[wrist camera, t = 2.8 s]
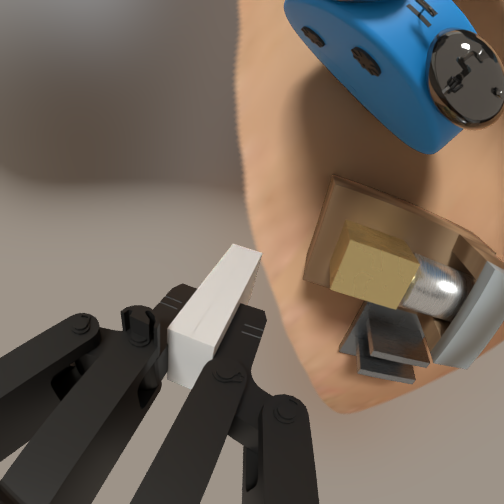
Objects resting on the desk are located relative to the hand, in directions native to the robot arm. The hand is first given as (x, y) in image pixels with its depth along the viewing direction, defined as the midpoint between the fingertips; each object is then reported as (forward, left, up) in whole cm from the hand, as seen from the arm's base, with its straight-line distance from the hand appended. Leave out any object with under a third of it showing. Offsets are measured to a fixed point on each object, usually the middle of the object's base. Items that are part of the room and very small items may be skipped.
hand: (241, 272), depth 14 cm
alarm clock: (-14, +5, -13) cm, 20 cm away
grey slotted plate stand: (+10, +16, -13) cm, 22 cm away
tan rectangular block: (0, +8, -8) cm, 11 cm away
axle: (0, +16, -8) cm, 17 cm away
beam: (0, +17, -13) cm, 21 cm away
